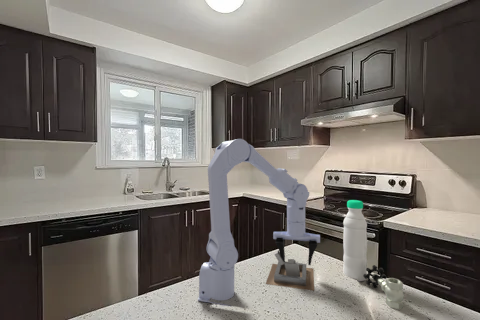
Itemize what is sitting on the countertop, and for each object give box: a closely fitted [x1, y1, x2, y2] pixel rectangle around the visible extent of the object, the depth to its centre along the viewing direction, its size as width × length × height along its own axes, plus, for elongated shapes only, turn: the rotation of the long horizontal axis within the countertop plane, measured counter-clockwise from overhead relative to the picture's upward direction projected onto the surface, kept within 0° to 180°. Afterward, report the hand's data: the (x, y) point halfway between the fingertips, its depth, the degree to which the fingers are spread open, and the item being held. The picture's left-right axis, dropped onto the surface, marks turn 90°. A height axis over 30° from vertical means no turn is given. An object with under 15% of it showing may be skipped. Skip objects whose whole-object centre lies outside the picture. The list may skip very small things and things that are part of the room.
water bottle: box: [342, 199, 368, 282], centre depth 81 cm, size 7×7×25 cm
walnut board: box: [265, 263, 315, 291], centre depth 80 cm, size 14×15×1 cm
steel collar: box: [274, 260, 307, 286], centre depth 80 cm, size 9×11×2 cm
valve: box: [363, 264, 405, 310], centre depth 69 cm, size 7×7×12 cm
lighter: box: [273, 250, 300, 277], centre depth 79 cm, size 7×2×8 cm, turn 71°
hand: (296, 262), depth 80 cm, fingers open, 7 cm apart
